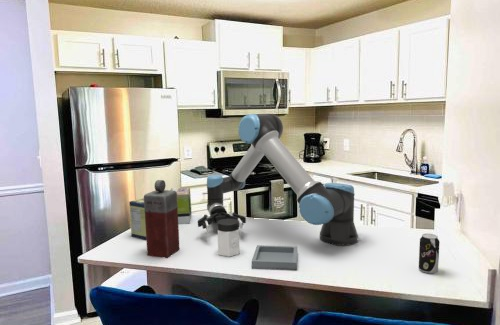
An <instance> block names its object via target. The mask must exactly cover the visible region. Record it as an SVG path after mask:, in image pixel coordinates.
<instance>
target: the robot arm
mask: <svg viewBox="0 0 500 325" xmlns="http://www.w3.org/2000/svg"><path fill="white" fill-rule="evenodd" d="M283 132H284V124H283V122H282V120H281V118H280V117H278V116H277V115H276V114H274V113H251V114H247V115H244V116H243V117H242V118H241V120H240V121H239V125H238V136H239V139H240V140H241V141H242V142H243V144H248V145H249V144H251V145H250V147H249V148H248V149H247V151H246V152H245V154H244V155H243V157H242V158H241V159H240V161H238V164H237V165H236V167H234V169H233V170H232V172H231V173H230V175H229V176H225V177H223V176H222V175H221V174H212V175H208V176H207V177H206V191H207V192H206V193H207V196H206V197H207V203H206V209H207V212H208V214H209V215H207V214H204V215H203V216H202V217H200V218H199V219H198V220H197V227H198V228H200V227H202V229H203V230H204V229H205V230H206V233H209V232H210V230H209V226H210V225H211V224H217V222H218V221H219V220H222V219H236V220H238V221H239V230H243V225H244V224H246V223H247V220H246V219H247V218H246V216H243V215H241V214H238V213H236V212H232V213H231V214H230V213H228V212H227V209H226V208H225V206H224V194H228V193H231V192H234V191H235V192H236V191H239V190H241V189H243V188H245V186H246V180H247V178H248V177H249V176H250V175H251V173H252V172H253V170H255V168H256V166H257V165H258V164H259V163H260V161H261V160H262V158H264V156H265V157H266V158H267V160H268V161H269V162H270V163H271V165H273V167H274V168H275V169H276V171H277V172H278V173H279V175H280V176H281V177H282V178H283V179H284V180H285V182H286V183H287V184H288V186H290V188H291V189H292V190H293V192H294V193H295V194H296V202H297V203H298V208H299V211H298V212H299V213H300V216H301V217H302V218H303V220H304V221H306V222H307V223H308V224H310V225H314V226H319V225H321V227H320V231H319V240H320V241H322V242H323V243H324V244H328V245H332V246H333V245H335V246H350V245H355V244H356V243H358V240H359V237H358V236H359V234H358V231H357V228H356V225H355V221H354V216H355V195H356V194H355V188H354V186H353V185H351V184H347V183H339V182H325V184H324V183H322V182H321V181H318V180H317V181H316V180H314V179H313V178H312V176H311V175H310V174H309V173H308V171H307V170H306V169H305V168H304V167H303V165H302V164H301V163H300V162H299V161H298V159H296V157H295V156H294V155H293V154H292V152H291V151H290V150H289V149H288V148H287V147H286V145H285V144H284V143H283V142H282V141H281V140H280V139H281V137H282V135H283Z"/></svg>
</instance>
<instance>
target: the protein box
mask: <svg viewBox="0 0 500 325" xmlns="http://www.w3.org/2000/svg"><path fill="white" fill-rule="evenodd" d="M129 218H130V233H131V237H133V238H137V239H142V240H145V241H146V226H145V210H144V197H142V198H138V199H135V200H131V201H129Z"/></svg>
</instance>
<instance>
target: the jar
mask: <svg viewBox="0 0 500 325" xmlns="http://www.w3.org/2000/svg"><path fill="white" fill-rule="evenodd" d="M216 225H217V245H218V246H217V247H218V248H217V250H218V251H217V252H218V254H217V255H218V256H221V257H222V256H223V257H226V258H227V257H228V258H229V257H232V256H236V255H237V256H239V255H240V227H239V221H238V220H236V219H222V220H219V221H218V222H217V223H216Z"/></svg>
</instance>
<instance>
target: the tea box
mask: <svg viewBox="0 0 500 325" xmlns="http://www.w3.org/2000/svg"><path fill="white" fill-rule="evenodd" d="M170 190H171V191H176V192H177V207H178V225H186V224H191V220H192V216H193V215H192V214H193V213H192V199H191V187H177V188H176V187H175V188H170Z"/></svg>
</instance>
